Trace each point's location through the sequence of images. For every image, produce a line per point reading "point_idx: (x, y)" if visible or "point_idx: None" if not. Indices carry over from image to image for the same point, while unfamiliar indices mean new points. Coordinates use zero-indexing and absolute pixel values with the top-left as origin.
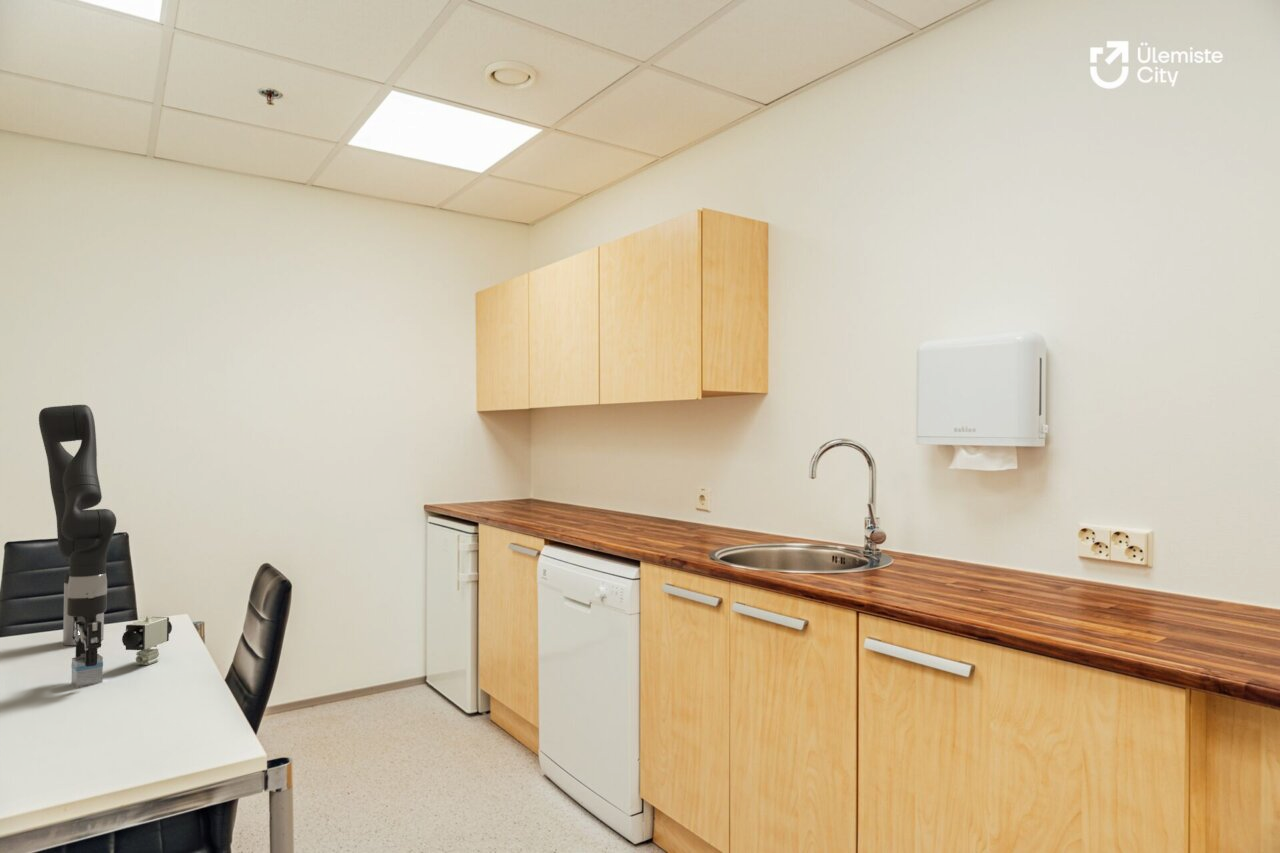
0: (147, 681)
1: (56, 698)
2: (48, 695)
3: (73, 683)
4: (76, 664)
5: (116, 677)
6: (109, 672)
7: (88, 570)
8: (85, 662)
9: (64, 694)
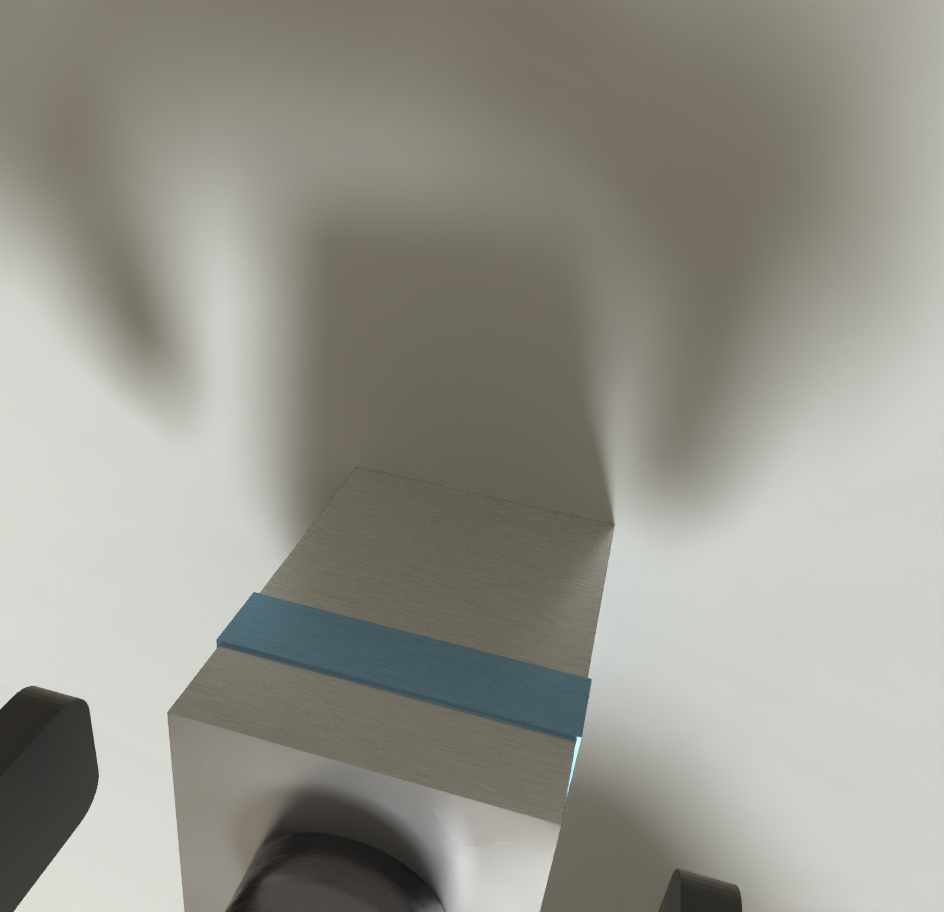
0: None
1: (37, 126)
2: (261, 113)
3: (506, 513)
4: (222, 678)
5: None
6: None
7: None
8: (1, 733)
9: (154, 261)
